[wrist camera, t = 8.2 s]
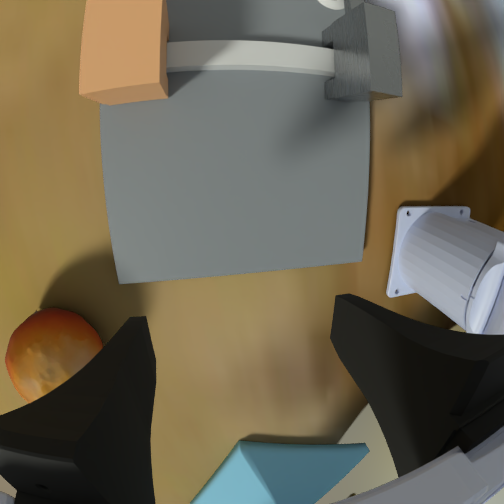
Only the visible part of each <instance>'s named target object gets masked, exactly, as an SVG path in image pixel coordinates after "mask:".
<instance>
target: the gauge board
mask: <svg viewBox="0 0 504 504" xmlns="http://www.w3.org/2000/svg"><path fill="white" fill-rule="evenodd" d="M166 3H167V10H168V19H169V41H167V65H166V74H167V77H168V99H157V100H147V101H139V102H131V103H124V104H117V105H111V106H109V105H107V104H101V103H100V132H101V152H102V166H103V178H104V189H105V198H106V207H107V215H108V222H109V229H110V236H111V242H112V249H113V255H114V260H115V266H116V271H117V276H118V281H119V284H128V283H141V282H154V281H166V280H178V279H190V278H201V277H212V276H224V275H234V274H245V273H255V272H266V271H276V270H286V269H295V268H305V267H314V266H324V265H333V264H342V263H351V262H360V261H362V256H363V246H364V236H365V225H366V213H367V199H368V181H369V155H370V101H367V102H360V101H358V102H352V103H351V102H343V101H334V100H325V93H324V82H326V81H329V80H332V79H334V78H335V68H334V49H333V48H326V47H323V45H322V31H323V30H325V29H326V28H327V27H329V26H330V25H332V23H333V22H334V21H336V20H337V19H338V18H340V17H341V16H343V15H344V14H345V8H344V0H166Z"/></svg>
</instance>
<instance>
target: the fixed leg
mask: <svg viewBox="0 0 504 504" xmlns="http://www.w3.org/2000/svg"><path fill="white" fill-rule="evenodd" d="M344 8H345V14H344V15H343V16H341V17H340V18H338V19H337V20H336V21H334V22H333V23H332V25H330V26H329V27H327V28H326V29H325V30H323V31H322V45H323V47H326V48H333V49H334V68H335V78H334V79H332V80H329V81H326V82H324V93H325V100H334V101H343V102H351V103H352V102H358V101H360V102H367V101H374V100H381V99H389V98H397V97H402V78H401V63H400V51H399V41H398V32H397V24H396V17H395V12H394V11H391V10H388V9H385V8H382V7H379V6H376V5H373V4H369V3H366V2H364V0H344Z"/></svg>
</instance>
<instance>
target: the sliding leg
mask: <svg viewBox="0 0 504 504" xmlns="http://www.w3.org/2000/svg"><path fill="white" fill-rule="evenodd" d="M167 41H169V19H168V10H167V3H166V0H87V2H86V9H85V16H84V25H83V34H82V44H81V58H80V78H79V95H81V96H84V97H86V98H89V99H91V100H94V101H96V102H98V103H101V104H107V105H109V106H111V105H117V104H124V103H131V102H139V101H147V100H157V99H168V77H167V74H166V65H167Z"/></svg>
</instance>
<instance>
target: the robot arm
mask: <svg viewBox="0 0 504 504" xmlns="http://www.w3.org/2000/svg"><path fill="white" fill-rule="evenodd" d="M407 211H409V213H408V214H407ZM396 290H397V291H396ZM395 291H396V292H395ZM416 292H417V293H418V294H419V295H421V296H422V297H423V298H425V299H426V300H427V301H429V302H430V303H431V304H433V305H434V306H435V307H436V308H438V309H439V310H440V311H441V312H443V313H444V314H445V315H447V316H448V317H449V318H450V319H452V320H453V321H454V322H455V323H457V324H458V325H459V326H460V327H462V328H463V329H464V330H465V331H466V333H465V332H458V331H453V330H448V329H443V328H439V327H435V326H432V325H428V324H425V323H422V322H419V321H416V320H413V319H410V318H408V317H405V316H402V315H400V314H397V313H395V312H393V311H390V310H388V309H386V308H383V307H381V306H379V305H377V304H374V303H372V302H370V301H368V300H365V299H363V298H361V297H358V296H355V295H352V294H343V295H336V297H335V305H334V313H333V321H332V329H331V336H330V339H331V341H332V343H333V345H334V348H335V350H336V352H337V354H338V356H339V358H340V360H341V361H342V363H343V364H344V366H345V367H346V369H347V370H348V372H349V373H350V375H351V376H352V378H353V379H354V381H355V382H356V384H357V385H358V387H359V388H360V390H361V391H362V393H363V394H364V396H365V397H366V399H367V401H368V402H369V404H370V406H371V408H372V410H373V412H374V414H375V416H376V418H377V420H378V423H379V425H380V427H381V430H382V432H383V434H384V437H385V439H386V442H387V444H388V447H389V449H390V452H391V455H392V457H393V461H394V464H395V467H396V470H397V474H398V477H399V478H397V479H395V480H392V481H390V482H388V483H386V484H383V485H381V486H379V487H376V488H374V489H371V490H369V491H366V492H363V493H361V494H358V495H355V496H352V497H350V498H347V499H344V500H341V501H338V502H335V503H332V504H484V503H486V502H487V501H488V500H489V499H490V498H491V497H493V496H494V495H495V494H496V493H497V492H499V491H500V490H501V489H502V488H503V487H504V232H502V231H500V230H497V229H495V228H493V227H490V226H488V225H485V224H483V223H481V222H478V221H476V220H473V219H471V218H470V208H469V207H466V206H402V207H400V208H399V209H398V212H397V221H396V230H395V238H394V246H393V253H392V260H391V267H390V273H389V279H388V285H387V291H386V294H387V295H388V296H389V297H396V296H401V295H406V294H411V293H416ZM155 388H156V358H155V354H154V349H153V345H152V341H151V337H150V332H149V328H148V323H147V318H146V316H142V317H130V318H129V319H128V320H127V321H126V322H125V323H124V325H123V326H122V327H121V328H120V329H119V330H118V332H117V333H116V334H115V335H114V336H113V337H112V338H111V340H110V341H109V342H108V343H107V344H106V345H105V346H104V347H103V348H102V349H101V350H100V351H99V352H98V353H97V354H96V355H95V356H94V357H93V358H92V359H91V360H90V361H89V362H88V363H87V364H86V365H85V366H84V367H83V368H82V369H81V370H79V371H78V372H77V373H76V374H74V375H73V376H72V377H71V378H69V379H68V380H67V381H65V382H64V383H62V384H61V385H59V386H58V387H56V388H55V389H53V390H52V391H51V392H49V393H47V394H46V395H44V396H42V397H40V398H39V399H37V400H35V401H33V402H31V403H29V404H27V405H25V406H23V407H20V408H18V409H15V410H13V411H10V412H8V413H5V414H3V415H0V475H1V476H2V477H3V478H4V479H5V480H6V481H7V482H8V483H10V484H11V485H12V486H13V487H14V488H15V489H16V490H17V493H16V498H14V497H12V496H10V495H9V494H6V493H4V492H2V491H0V504H155V496H154V488H153V478H152V465H151V444H150V437H151V423H152V414H153V405H154V397H155Z"/></svg>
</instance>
